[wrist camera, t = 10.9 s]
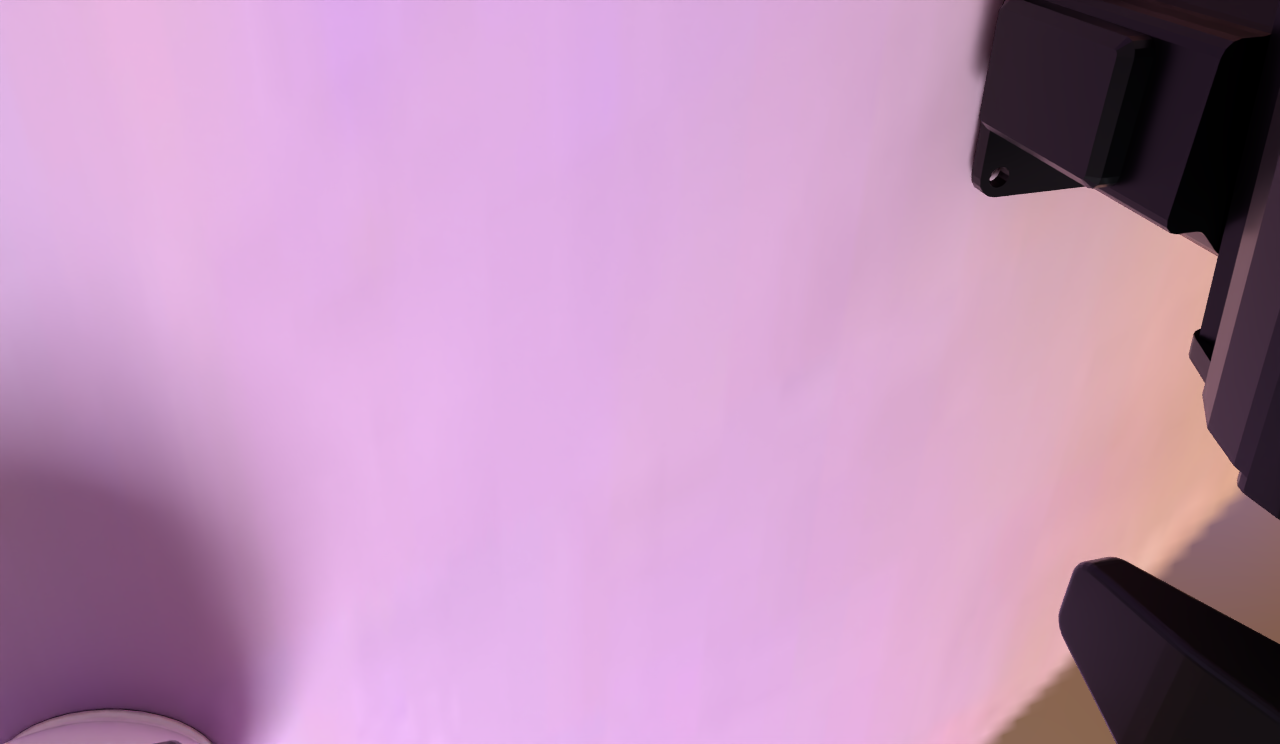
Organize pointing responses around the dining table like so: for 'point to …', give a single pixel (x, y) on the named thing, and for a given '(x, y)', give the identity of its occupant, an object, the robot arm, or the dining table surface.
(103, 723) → the lidded jar
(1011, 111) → the robot arm
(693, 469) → the dining table surface
